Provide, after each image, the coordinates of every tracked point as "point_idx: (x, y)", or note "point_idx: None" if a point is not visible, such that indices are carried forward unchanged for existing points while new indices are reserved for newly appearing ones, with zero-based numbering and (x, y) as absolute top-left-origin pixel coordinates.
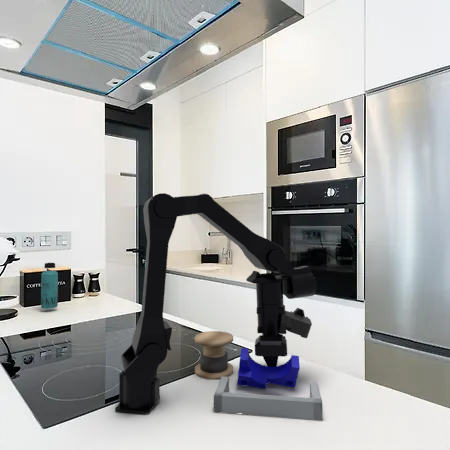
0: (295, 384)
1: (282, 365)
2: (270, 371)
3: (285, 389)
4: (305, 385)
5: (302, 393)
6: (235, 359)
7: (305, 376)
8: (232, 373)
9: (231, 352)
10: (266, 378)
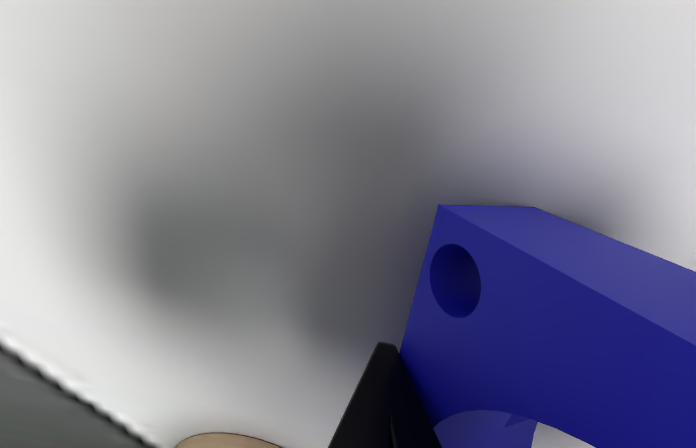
0: (565, 221)
1: (500, 408)
2: (464, 428)
3: None
4: (517, 102)
5: (665, 179)
6: (91, 396)
7: (316, 38)
8: (274, 445)
9: (3, 389)
10: (506, 430)
